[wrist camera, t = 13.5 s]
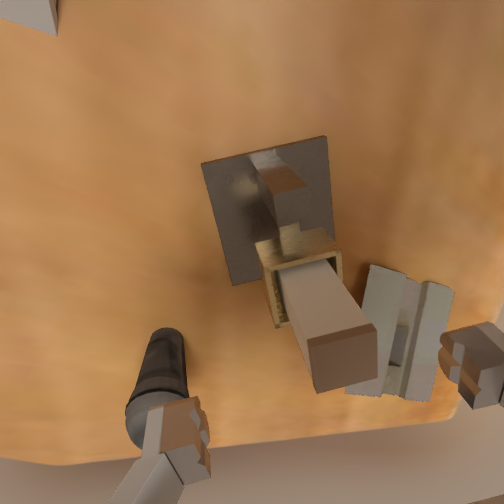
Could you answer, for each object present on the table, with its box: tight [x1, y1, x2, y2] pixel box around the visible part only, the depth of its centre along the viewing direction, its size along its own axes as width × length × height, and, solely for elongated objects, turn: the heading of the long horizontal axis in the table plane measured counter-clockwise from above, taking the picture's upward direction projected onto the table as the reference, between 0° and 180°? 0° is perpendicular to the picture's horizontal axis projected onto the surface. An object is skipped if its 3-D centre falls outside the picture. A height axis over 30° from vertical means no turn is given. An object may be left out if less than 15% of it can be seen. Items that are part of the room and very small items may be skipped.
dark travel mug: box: [125, 328, 190, 449], centre depth 39 cm, size 7×7×20 cm
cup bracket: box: [201, 136, 343, 328], centre depth 36 cm, size 14×16×13 cm
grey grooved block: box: [344, 264, 455, 402], centre depth 50 cm, size 19×10×17 cm
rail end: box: [275, 259, 378, 394], centre depth 29 cm, size 5×5×13 cm
